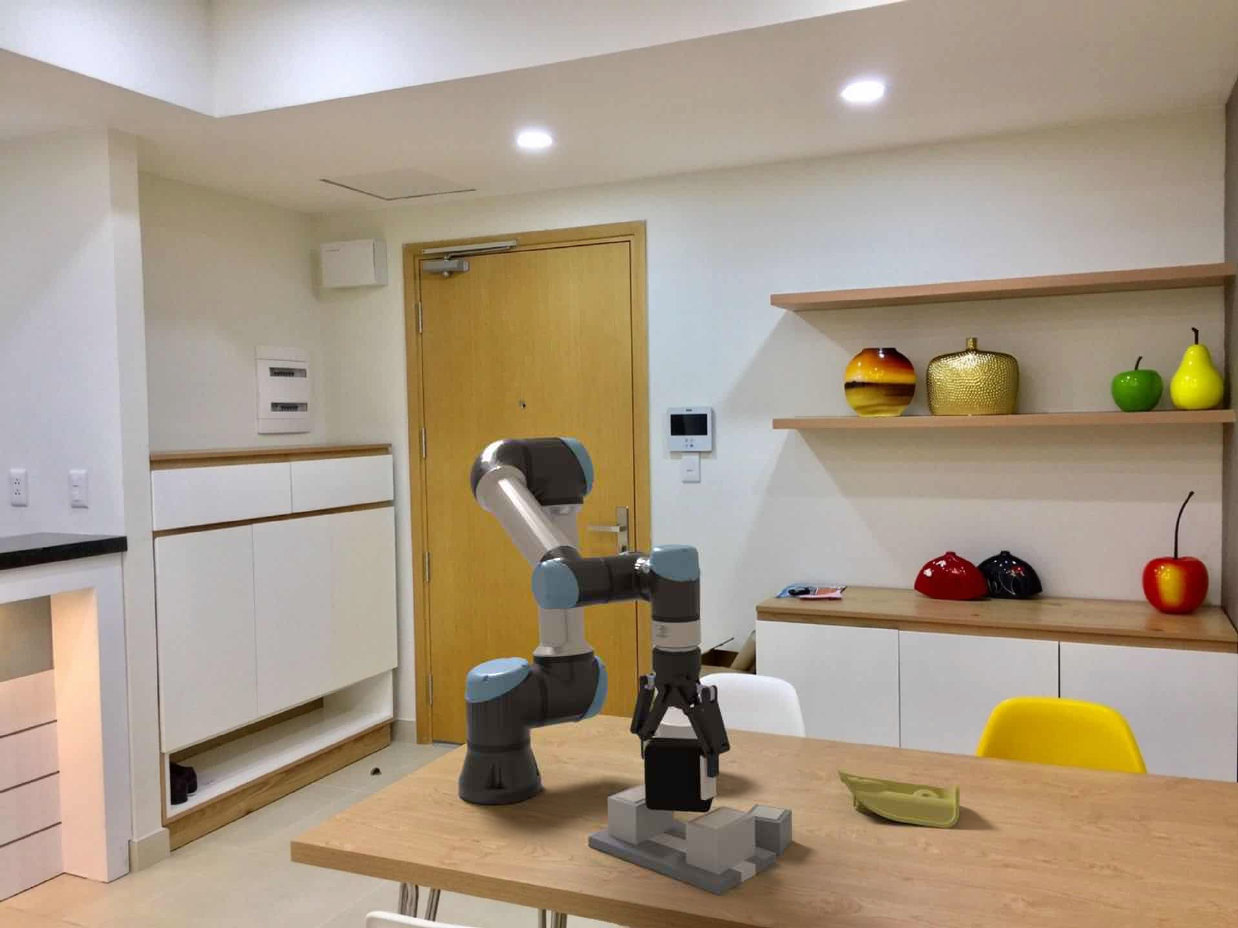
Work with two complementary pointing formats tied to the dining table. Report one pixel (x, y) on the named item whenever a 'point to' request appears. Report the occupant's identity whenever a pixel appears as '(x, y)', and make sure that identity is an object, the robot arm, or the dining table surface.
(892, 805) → the plastic component
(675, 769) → the electronic device
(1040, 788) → the dining table surface
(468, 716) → the robot arm
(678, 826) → the board
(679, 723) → the cup
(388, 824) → the dining table surface
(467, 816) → the dining table surface
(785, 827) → the module
